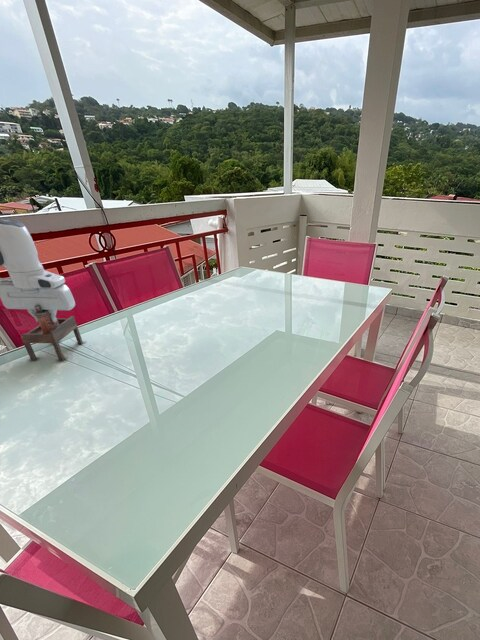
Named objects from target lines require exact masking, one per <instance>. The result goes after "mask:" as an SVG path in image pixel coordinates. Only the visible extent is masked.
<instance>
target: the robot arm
mask: <svg viewBox="0 0 480 640" xmlns="http://www.w3.org/2000/svg"><path fill="white" fill-rule="evenodd" d="M30 233H31V232H29V230H28V228H27V227H26V226H25V224H24V223H22V222H21V221H18V220H15V219H11V218H6V217H5V218H4V217H0V267H4V268H5V269H6V271H7V273H8V275H9V277H6V278H5V277H0V300H1V304H2V305H3V306H4V307H5V308H6V309H8V310H27V313H28V314H30V316H32V317H33V318H34V320H35V322H36V323H39V322H38V319H37V317H36V316H35V314H34V313H35V312H36V311H37V310H35V305H40V306H41V309H42V310H48V311H49V313H51V316H50V319H51V322H52V323H55V322H57V319H56V317H57V313H58V311H71V310H72V309H74V308H75V307H76V301H75V298H74V296H73V293H72V290H71V289H70V288H69V287H68V285H66V284H65V283H66V279H65V277H64V276H63V275H60V274H57V273H54V272H51V271H48V270H45V268H44V265H43V264H42V263H41V261H40V259H39V252H38V250H37V247H36V244H35V242H34V240H33V237H32V235H31V234H30Z"/></svg>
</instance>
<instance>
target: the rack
mask: <svg viewBox="0 0 480 640" xmlns="http://www.w3.org/2000/svg"><path fill="white" fill-rule="evenodd" d="M57 320H58V322H59V325H58V326H57V327H55V328H54V329H53V330H51V331H50V332H49V333H50V334H43V331H42V329H41V326H40V324H39V325H37V326H35V327H34V328H33V329H31V330H30V331H28V332H26V333H22V334H21V336H20V339H21V341H22V344H23V346H24V348H25V350H26V352H27V354H28V357H29V359H30V360H31V361H36V360H37V359H38V358H37V356H36V353H35V351H34V348H33V347H32V344H52V346H53V349H54V351H55V353H56V356H57V359H58V361H59V362H63V361H64V360H65V356H64V353H63V351H62V348H61V346H60V343H59V342H60V341H61V340H63V339H64V338H65V337H67V336H68V335H69V334H70V333H71V332H73V334H74V335H75V339H76V342H77V344H78V345H83V344H84V341H83V338H82V336H81V333H80V330H79V328H78V324H77V322H76V318H75V316H74V315H71V316H69V317H67V318H61V317H59V318H58V317H57Z"/></svg>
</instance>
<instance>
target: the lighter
mask: <svg viewBox="0 0 480 640" xmlns="http://www.w3.org/2000/svg"><path fill="white" fill-rule="evenodd" d="M35 310H36V312H35V313H34V314H35V316H36V317H37V319H38V322H37V323H38V324H39V325H40V326H41V329H42V331H43V334H50V333H49V332H50V331H51V330H53V329H54V328H55V327H57V326H58V325H59V322H58V320H57V322H55V323H52V322H51V319H50V316H51V313H49V311H48V310H42V309H41V306H40V305H35ZM57 318H58V317H57V316H56V319H57Z"/></svg>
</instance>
